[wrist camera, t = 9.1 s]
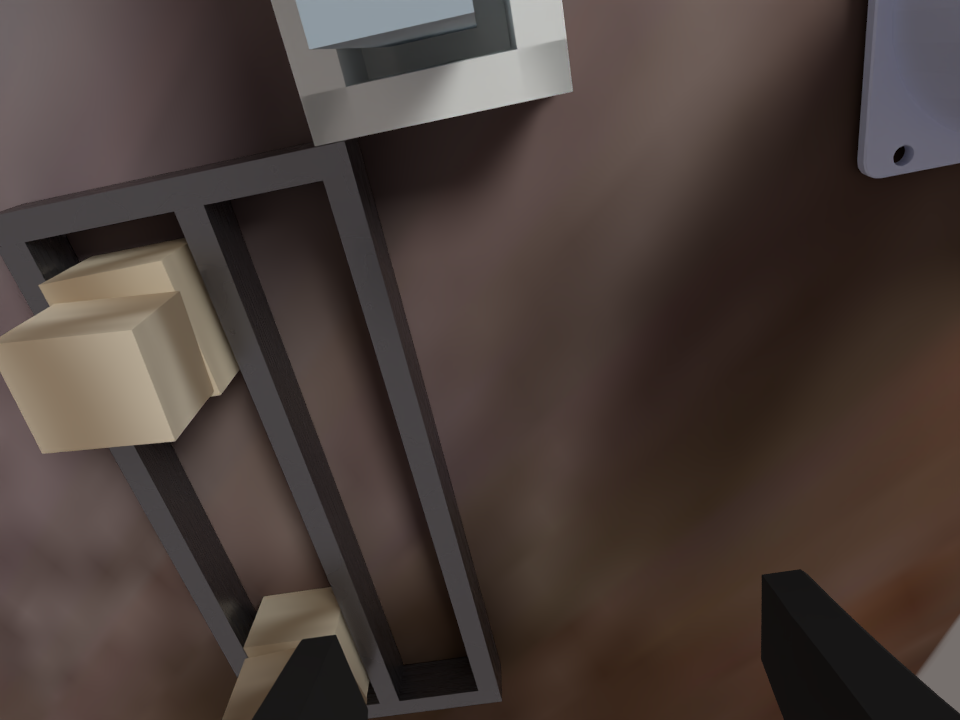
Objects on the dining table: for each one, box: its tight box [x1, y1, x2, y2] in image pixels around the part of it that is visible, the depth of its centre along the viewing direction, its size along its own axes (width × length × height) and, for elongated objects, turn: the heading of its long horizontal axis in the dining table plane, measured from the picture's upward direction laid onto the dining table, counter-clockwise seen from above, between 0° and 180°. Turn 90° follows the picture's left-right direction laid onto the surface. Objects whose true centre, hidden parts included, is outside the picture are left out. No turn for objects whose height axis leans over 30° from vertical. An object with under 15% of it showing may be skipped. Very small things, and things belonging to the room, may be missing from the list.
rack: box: [0, 138, 502, 718], centre depth 21 cm, size 10×22×2 cm, turn 11°
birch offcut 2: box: [222, 648, 367, 720], centre depth 22 cm, size 3×3×2 cm
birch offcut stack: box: [0, 238, 240, 454], centre depth 17 cm, size 4×4×5 cm
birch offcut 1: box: [243, 587, 370, 698], centre depth 24 cm, size 3×4×2 cm
